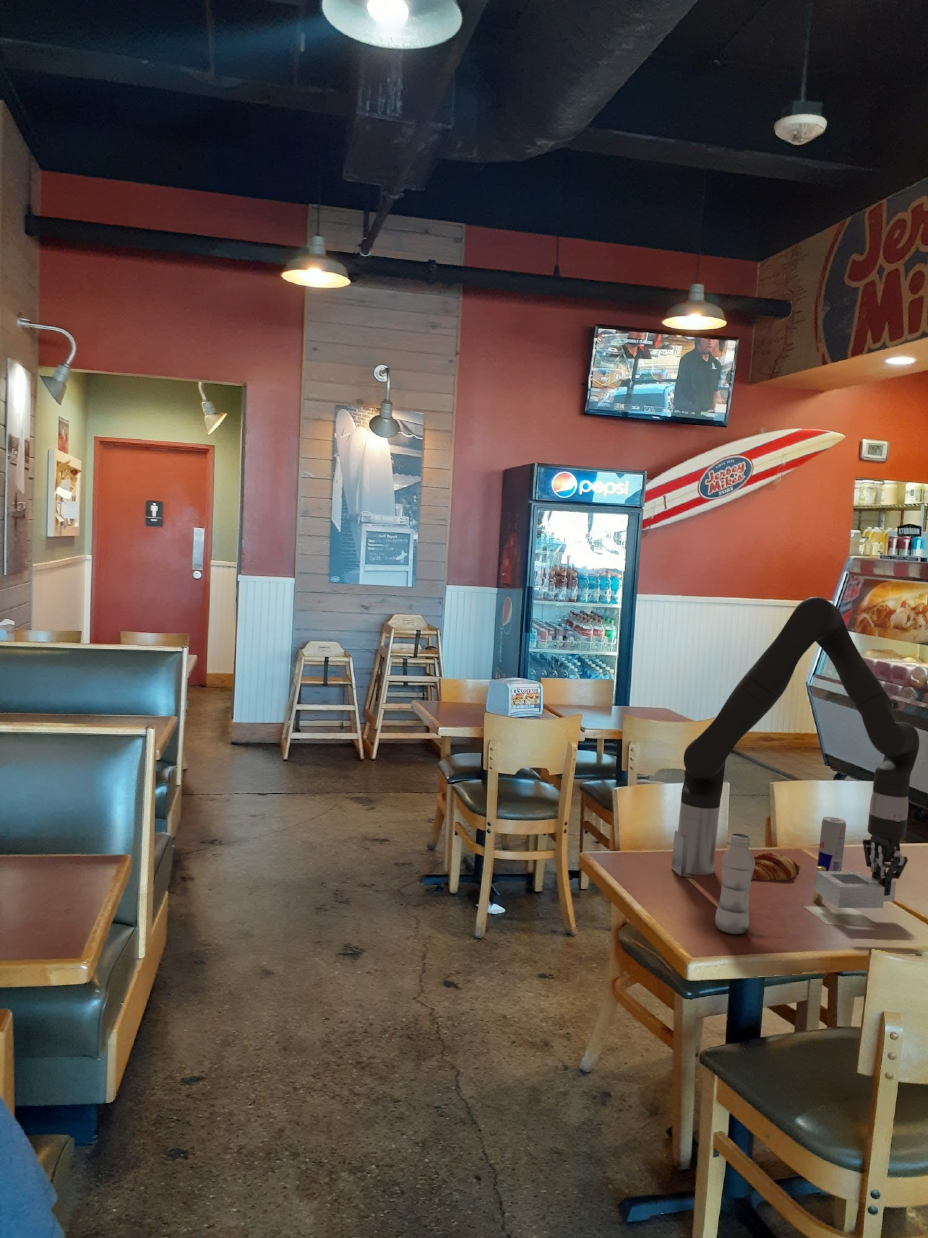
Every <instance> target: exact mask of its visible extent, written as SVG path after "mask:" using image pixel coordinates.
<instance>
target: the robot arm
mask: <svg viewBox="0 0 928 1238" xmlns="http://www.w3.org/2000/svg"><path fill="white" fill-rule="evenodd" d="M814 643H816V644H817V645H818V646H819V647H820V648H821V649H822V650H823V652H824V653H825V654H826V656H827V657H828V658H829V659H830V661H831V663H832V664H833V666H834V669H835V671H836V674H837V675H838V678H839V680H840V681H841V684H842V686H843V688H844V690H845V693H846V694H847V696H848V697H849V700H851V703H853V705H854V706H855V709H856V710H857V711H858V713H859V714H860V717H861V720H862V723H863V725H864V728H865V730H866V733H867V736H868V739H869V741H870V743H871V744H872V745H873V747H874V749H876V750H877V751H878V753H880V754H882V755H883V759H882V762H881V763H880V764H879V765H878V766H877V767H876V769H875V772H874V775H873V782H872V783H873V784H872V793H871V798H870V803H869V811H868V812H869V814H868V819H867V821H868V822H867V833H869V835H871V836H870V839H863V840H862V846H863V852H864V858H865V863H866V867H867V868H870V873H871V877H881V878H880V885H882V886H884V887H885V889H884V896H889V895H890V892H891V882H892V879H893V880H895V879H897V880H899V879H900V877H901V875H902V873H903V872H904V869H905V867H906V865H907V863H908V862H909V861H908V859H909V858H908V857H907V856H903V854H902V853H901V845H900V844H901V843H900V842H901V841H902V840H904V839H905V838H906V834H907V825H908V814H909V792H910V782H911V781H910V778H911V774H912V772H913V769H914V765H915V764H916V760H917V757H918V753H919V750H920V736H919V733H918V731H917V729H916V728H915V726H913V725H912V724H911V723H909V722H905V721H895V719H894V717H893V715H892V713H891V709H892V708H893V703H892V700H891V698H890V697H889V695H888V694H887V692H886V690H885V689H884V687H883V685H882V684H881V683H880V680H878V678H877V677H876V675H875V674H874V672H873V671H872V670H871V668H870V667H869V665H868V664H867V663H866V661H865V659H864V658H863V657H862V655H861V653H860V651H859V650H858V648H857V647H856V644H855V643H854V641H853V639H852V637H851V635H850V632H849V630H848V627H847V625H846V623H845V620H844V619H843V616H842V614H841V611H840V609H839V608H838V607H837V606H836V605H834V604H833V603H832V602H830V601H829V600H827V599H826V598H824V597H820V596H811V597H808V598H806V599H804V600H802V601H801V602H800V603H799V604H798V605H797V606H796V608H794V610H793V612H792V613H791V614H790V616H789V618H788V619H787V621H786V622H785V624H784V626H783V627H782V629H781V631H780V632H779V633H778V635H777V636H776V638H775V639H774V640H773V641H772V643H771V644H770V645H769V646H768V648H767V649H766V650H765V651H764V652H763V653H762V654H761V656H760V657H759V658H758V659H757V661H755V663H754V664H753V665H752V666H751V668H750V669H748V670H747V673H745V674H744V676H743V677H742V678H741V680H740V681H739V682H738V683H737V684H736V686H735V688H734V689H733V690H732V692H730V693H731V694H730V695H729V697H728V698H727V699H726V701H725V703H724V704H723V706H722V707H721V709H720V711H719V713H718V714H717V715H716V716H715V718H714V719H713V721H712V722H711V723H710V724H709V725H708V726H707V728H705V730H704V731H703V732H702V733H701V734H700V735H699V736H697V738H695V739H694V740H692V742H690V743H689V745H687V747H686V748H685V750H684V753H683V765H684V768H685V772H684V781H683V784H682V789H681V796H680V806H679V807H680V808H679V817H678V827H677V830H675V831H674V836H673V848H672V856H671V857H672V858H671V869H672V871H674V873H676V874H677V875H678V876H679V877H684V878H685V877H686V878H691V879H693V877H692V875H699V876H706V875H707V876H708V875H712V874H713V873H714V870H715V862H716V861H715V858H716V848H717V838H718V828H719V826H718V825H719V817H720V809H721V808H720V807H721V799H722V793H723V788H724V787H723V786H724V781H725V779H724V778H725V770H726V769H725V768H726V760H727V758H728V757H729V755H730V754H731V752H732V751H733V750H734V748H735V746H736V745H737V744H738V743H739V741H740V740H741V739H742V738H743V737H744V735H746V734H747V733H748V732H749V731H750V730H751V729H753V727H755V726H756V725H757V723H759V722H760V720H762V719H763V717H764V716H765V715H766V714H768V712H769V711H770V710H771V709H772V708H773V706H774V705H775V704H776V703H777V702H778V701H779V699H780V698H781V697H782V696H783V694H784V693H785V691H786V689H787V687H788V686H789V684H790V682H791V679H792V677H793V674H794V672H795V670H796V667H797V665H798V663H799V661H800V660H801V658H802V657H803V656H804V654H805V653H806V652H807V651H808V650H809V649H810V648H811V647H812V645H813V644H814Z"/></svg>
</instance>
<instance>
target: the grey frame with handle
mask: <svg viewBox="0 0 928 1238" xmlns="http://www.w3.org/2000/svg"><path fill="white" fill-rule="evenodd" d="M815 874H816V881H815V880H814V884H815V892H817V893H818V894H820V895H821V896H822V897H823V898H824V899H825V900H827V901H828V902H829V903H830V904H833V905H834V907H835V906H836V907H838V908H855V909H883V908H884V902H895V901H896V900H895V898H896V885H897V882H896V881H897V880H895V879H892V882H891V892H890V895H889V896H884V889H885V887H884V886H882V885H880V878H881V877H872V876H867V875H865V874H863V873H862V872H860V871H858V870H856V871H853V870H852V871H851V870H849V871H848V870H847V871H846V870H841V871H816V870H815Z"/></svg>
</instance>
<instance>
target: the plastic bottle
mask: <svg viewBox="0 0 928 1238" xmlns="http://www.w3.org/2000/svg"><path fill="white" fill-rule="evenodd" d="M729 843H730V846H729V847H728V848H727V849H726V851H725V852H724V853H723V854H722V857H721V891H720V894H719V895H720V897H719V901H718V906H717V908H716V911H715V918H714V919H715V926H716V927H717V929H719V930H720V931H721V932H724V933H726V934H727V933H728V934H731V935H740V934H745V932H746V931H747V930H748V927H749V924H750V915H749V913H750V912H749V895H750V889H751V882H752V880H753V879H752V875H753V871H754V868H755V860H754V855H753V854H752V852H751V850H750V849H749V847H750V846H751V837H750V835H748V834H745V833H740V832H732V833H730V839H729Z"/></svg>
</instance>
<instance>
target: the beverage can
mask: <svg viewBox="0 0 928 1238" xmlns="http://www.w3.org/2000/svg"><path fill="white" fill-rule="evenodd" d="M846 823H847V821H846V820H844V819H843V818H839V817H834V816H823V817H822V820H821V826H820V827H821V828H820V835H819V836H820V838H819V847H818V855H817V856H818V858H817V865H816V866H822V867H825V868H826V871H843V870H842V868H843V859H844V849H845V841H846V840H845V839H846V831H847V830H846V829H847V824H846Z"/></svg>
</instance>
